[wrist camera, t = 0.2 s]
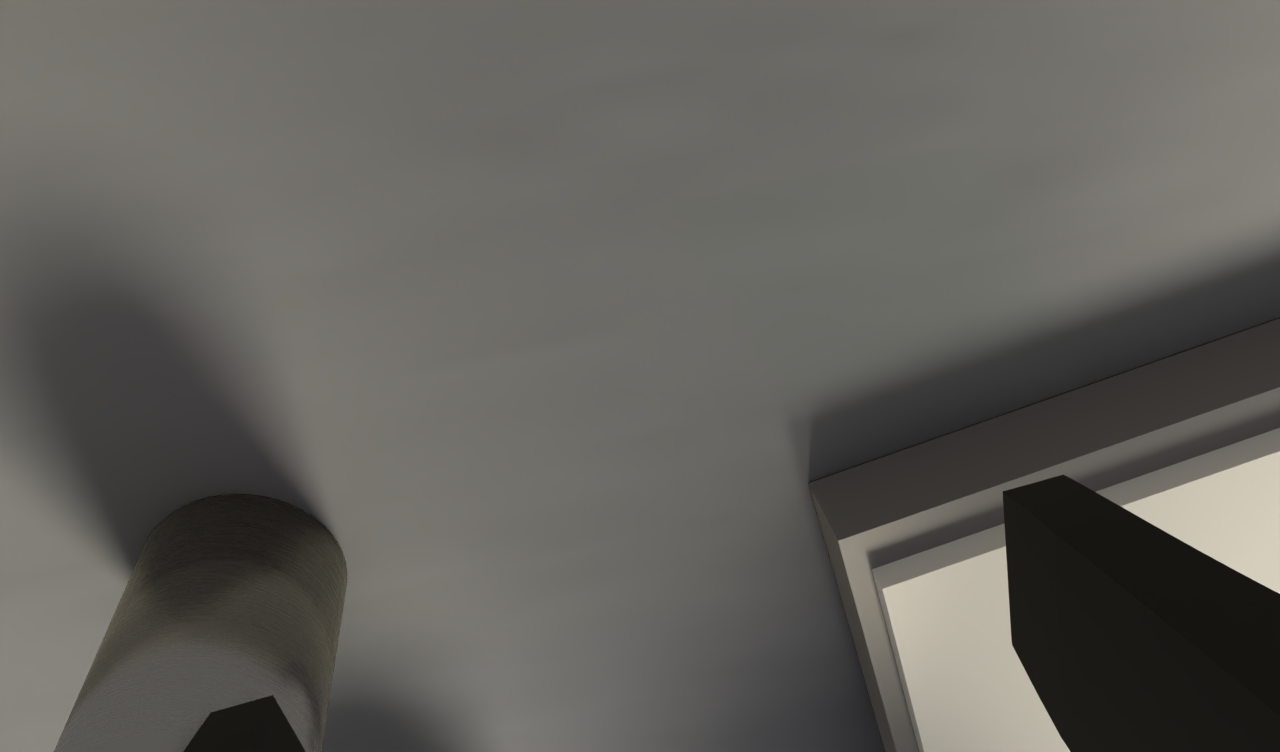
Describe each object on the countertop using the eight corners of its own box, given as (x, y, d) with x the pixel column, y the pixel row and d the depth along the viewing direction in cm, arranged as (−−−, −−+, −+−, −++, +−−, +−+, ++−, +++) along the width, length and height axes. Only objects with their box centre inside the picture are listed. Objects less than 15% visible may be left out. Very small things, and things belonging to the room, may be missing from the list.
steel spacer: (379, 612, 22) (353, 861, 17) (204, 673, 22) (123, 940, 17) (291, 467, 20) (230, 698, 15) (98, 535, 20) (-31, 789, 15)
